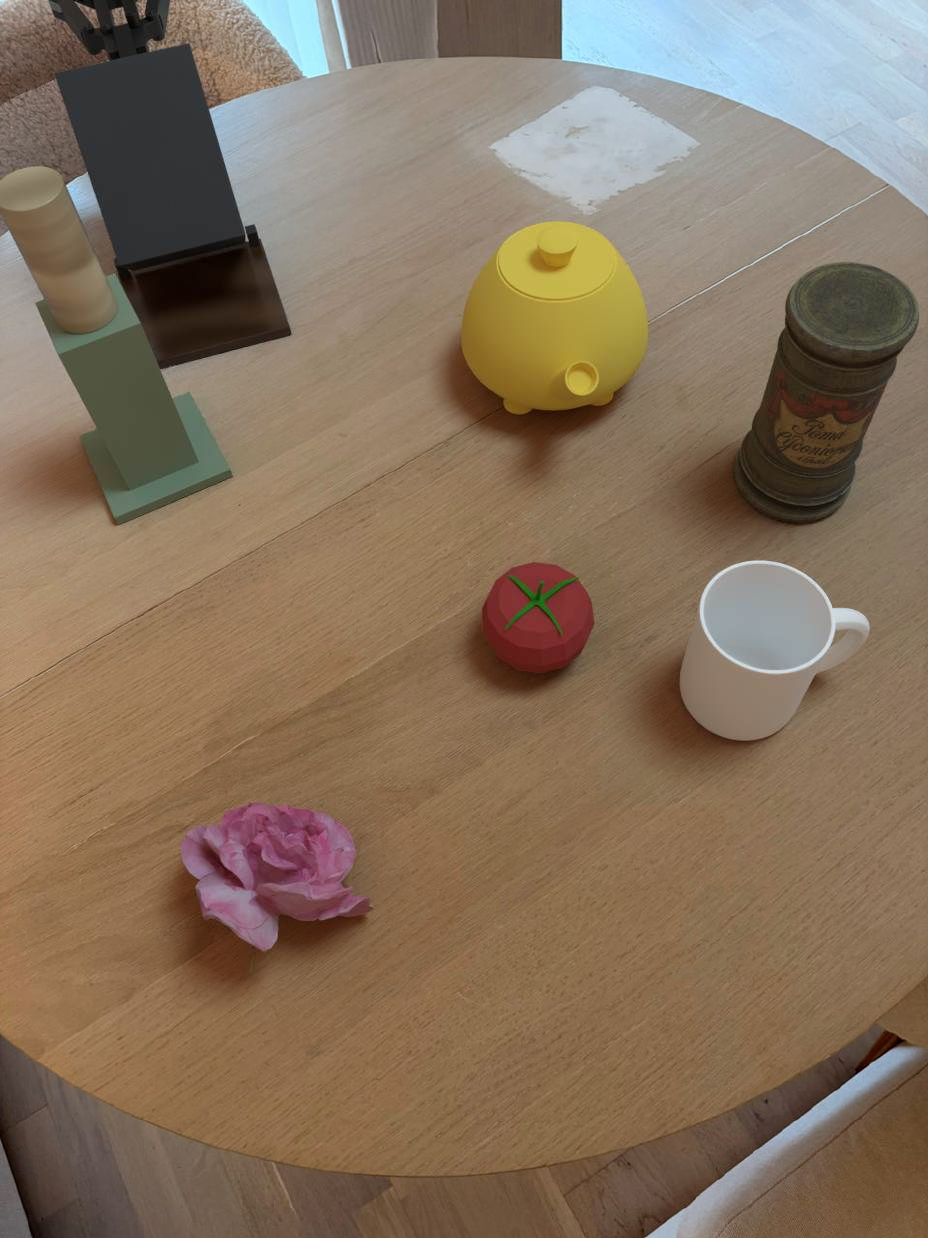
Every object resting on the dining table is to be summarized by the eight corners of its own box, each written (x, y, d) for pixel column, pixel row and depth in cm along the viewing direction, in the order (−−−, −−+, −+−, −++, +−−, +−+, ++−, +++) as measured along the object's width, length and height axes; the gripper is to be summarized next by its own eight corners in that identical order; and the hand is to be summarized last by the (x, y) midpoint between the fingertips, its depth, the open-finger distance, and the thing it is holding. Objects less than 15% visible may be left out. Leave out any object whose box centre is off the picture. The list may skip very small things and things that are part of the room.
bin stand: (291, 334, 92) (286, 312, 90) (140, 374, 91) (130, 352, 88) (262, 245, 99) (256, 222, 97) (120, 281, 97) (111, 258, 95)
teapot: (669, 467, 82) (694, 339, 70) (479, 488, 82) (471, 364, 70) (624, 298, 92) (639, 162, 81) (455, 317, 92) (445, 183, 80)
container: (727, 437, 83) (774, 257, 68) (838, 436, 83) (910, 254, 67) (739, 525, 79) (792, 353, 63) (857, 524, 78) (939, 351, 63)
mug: (825, 624, 74) (866, 541, 65) (866, 725, 69) (916, 652, 61) (664, 649, 73) (683, 570, 65) (695, 753, 69) (720, 683, 60)
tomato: (611, 660, 73) (620, 604, 67) (517, 708, 72) (516, 655, 65) (554, 579, 77) (557, 519, 70) (464, 623, 75) (459, 565, 69)
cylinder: (48, 304, 72) (-16, 180, 64) (107, 282, 73) (52, 157, 64) (65, 342, 70) (1, 219, 61) (126, 319, 71) (71, 194, 62)
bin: (245, 234, 87) (189, 42, 82) (119, 266, 86) (54, 72, 81) (245, 242, 97) (195, 72, 92) (132, 270, 96) (75, 99, 91)
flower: (284, 821, 71) (345, 744, 65) (344, 950, 67) (415, 881, 61) (131, 861, 64) (184, 778, 58) (188, 1010, 60) (251, 937, 54)
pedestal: (83, 443, 87) (0, 295, 73) (192, 399, 89) (132, 247, 75) (118, 525, 82) (37, 383, 68) (233, 476, 84) (176, 329, 70)
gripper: (175, -22, 109) (214, 98, 97) (54, 4, 108) (79, 129, 96) (153, -100, 103) (192, 18, 91) (24, -73, 101) (47, 50, 89)
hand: (134, 75), depth 93 cm, fingers closed
